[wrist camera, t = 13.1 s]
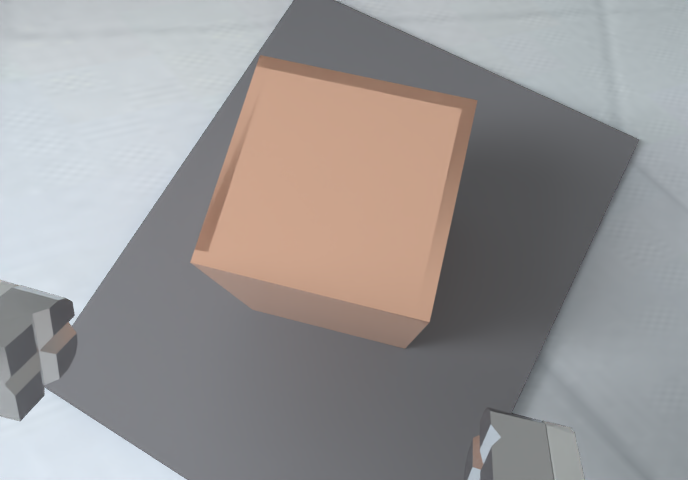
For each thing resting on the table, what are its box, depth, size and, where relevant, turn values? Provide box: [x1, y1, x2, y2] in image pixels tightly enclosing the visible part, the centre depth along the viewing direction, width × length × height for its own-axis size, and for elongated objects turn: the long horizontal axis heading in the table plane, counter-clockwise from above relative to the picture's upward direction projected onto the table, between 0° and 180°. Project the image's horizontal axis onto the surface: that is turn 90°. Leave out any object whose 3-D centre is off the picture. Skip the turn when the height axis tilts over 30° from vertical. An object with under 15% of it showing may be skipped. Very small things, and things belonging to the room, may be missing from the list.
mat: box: [44, 0, 639, 480], centre depth 20 cm, size 16×20×5 cm
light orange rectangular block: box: [190, 55, 477, 349], centre depth 18 cm, size 6×6×8 cm
